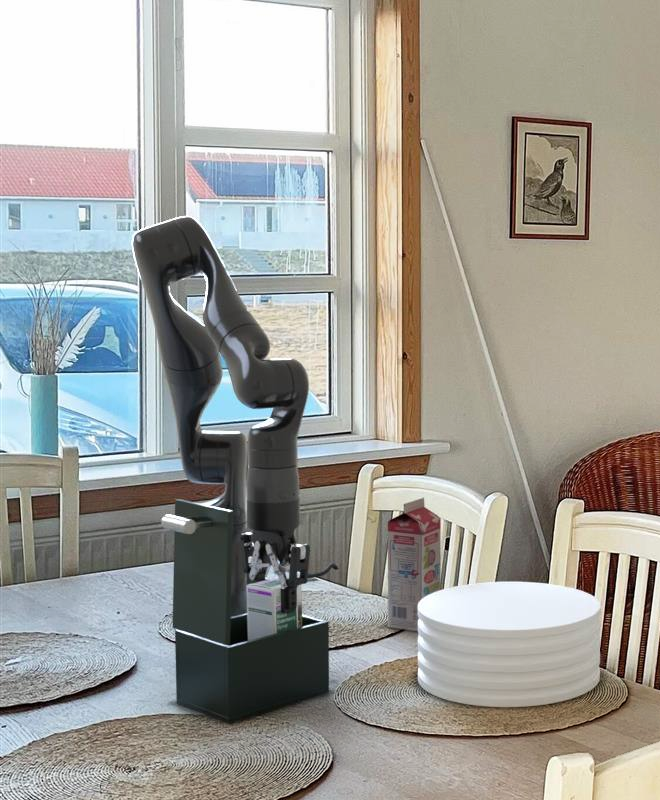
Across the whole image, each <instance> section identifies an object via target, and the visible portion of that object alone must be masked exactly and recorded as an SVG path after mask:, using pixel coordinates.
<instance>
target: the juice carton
mask: <svg viewBox="0 0 660 800" xmlns="http://www.w3.org/2000/svg"><path fill="white" fill-rule="evenodd" d="M441 520H442V519H441V517H440V516H439V515H438V514H436V513H435V512H433V511H431V510H430V509H429V508H427V507H425V497H424V496H423V497H422V498H417V499H415V500H412V501H408V502H406V503H403V513H401V514H399V515H397V516H395V517H393V518H390V520H388V521H387V628H391V629H399V630H400V629H401V630H407V631H414V632H418V620H419V617H418V603H419V602H420V601H421V600H422V599H423V598H424V597H426V596H427V595H429V594H431V593H434V592H437V591H439V590H441V559H442V558H441V555H442V554H441V548H442V547H441V540H442V538H441V537H442V536H441V534H442V533H441V531H442V530H441V525H442V524H441V523H442V521H441Z"/></svg>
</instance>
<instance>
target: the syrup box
mask: <svg viewBox="0 0 660 800" xmlns="http://www.w3.org/2000/svg"><path fill="white" fill-rule="evenodd" d="M267 579H268V580H264V581H260V582H257V583H253V584H248V585H247V623H248V641H249V640H253V639H257V638H261V637H264V636H268V635H272V634H276V633H280V632H284V631H288V630H292V629H295V628H299V627H302V614H303V595H302V594H303V590H302V587H303V586H302V584H301V585H298V587H297V607H296V610H295V611H294V612H291V613H287V614H286V613H282V611H281V588H282V587H281V584H280V580H279V577H278V576H273V577H271V578H267ZM287 579H289V577H287Z"/></svg>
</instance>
